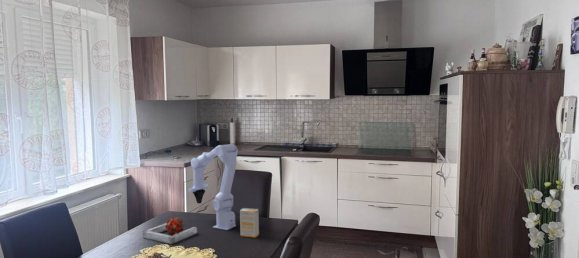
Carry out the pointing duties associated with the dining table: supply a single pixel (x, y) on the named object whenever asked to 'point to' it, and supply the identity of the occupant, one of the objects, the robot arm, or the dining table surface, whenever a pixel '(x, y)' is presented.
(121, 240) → the dining table surface
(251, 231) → the supplement box
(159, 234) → the grey u-shaped bracket
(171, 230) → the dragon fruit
